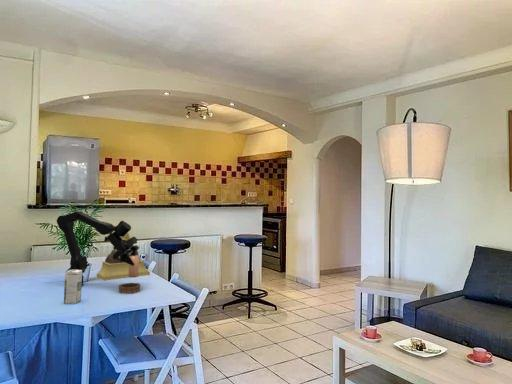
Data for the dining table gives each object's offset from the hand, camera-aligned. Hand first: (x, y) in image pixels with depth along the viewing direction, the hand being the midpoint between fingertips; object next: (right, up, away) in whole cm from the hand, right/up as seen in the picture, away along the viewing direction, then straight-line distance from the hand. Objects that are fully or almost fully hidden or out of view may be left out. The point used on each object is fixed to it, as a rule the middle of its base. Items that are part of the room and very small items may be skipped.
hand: (136, 264), depth 202 cm
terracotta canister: (-2, -7, 0) cm, 7 cm away
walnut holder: (-2, -13, -3) cm, 14 cm away
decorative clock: (-18, -14, +33) cm, 40 cm away
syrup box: (-22, -13, -25) cm, 36 cm away
